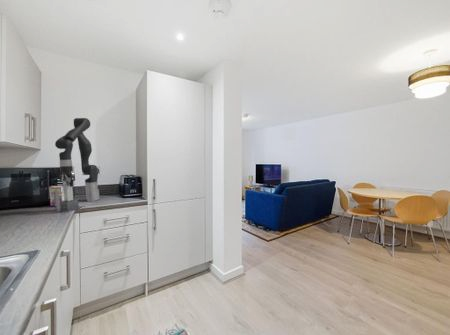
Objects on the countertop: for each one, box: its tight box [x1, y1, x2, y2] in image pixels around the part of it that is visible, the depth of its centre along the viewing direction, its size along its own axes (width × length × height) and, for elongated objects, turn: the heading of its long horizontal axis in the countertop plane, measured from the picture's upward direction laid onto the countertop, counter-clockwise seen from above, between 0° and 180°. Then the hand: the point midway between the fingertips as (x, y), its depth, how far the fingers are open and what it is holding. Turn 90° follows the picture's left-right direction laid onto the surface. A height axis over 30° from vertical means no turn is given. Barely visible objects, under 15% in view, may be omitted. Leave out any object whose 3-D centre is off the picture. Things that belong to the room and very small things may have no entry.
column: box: [61, 179, 74, 201], centre depth 152 cm, size 5×4×16 cm
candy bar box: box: [48, 185, 64, 207], centre depth 164 cm, size 11×5×16 cm, turn 84°
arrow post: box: [54, 191, 62, 214], centre depth 146 cm, size 4×2×16 cm, turn 160°
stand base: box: [53, 198, 86, 214], centre depth 153 cm, size 14×14×7 cm
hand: (67, 186), depth 151 cm, fingers open, 8 cm apart
